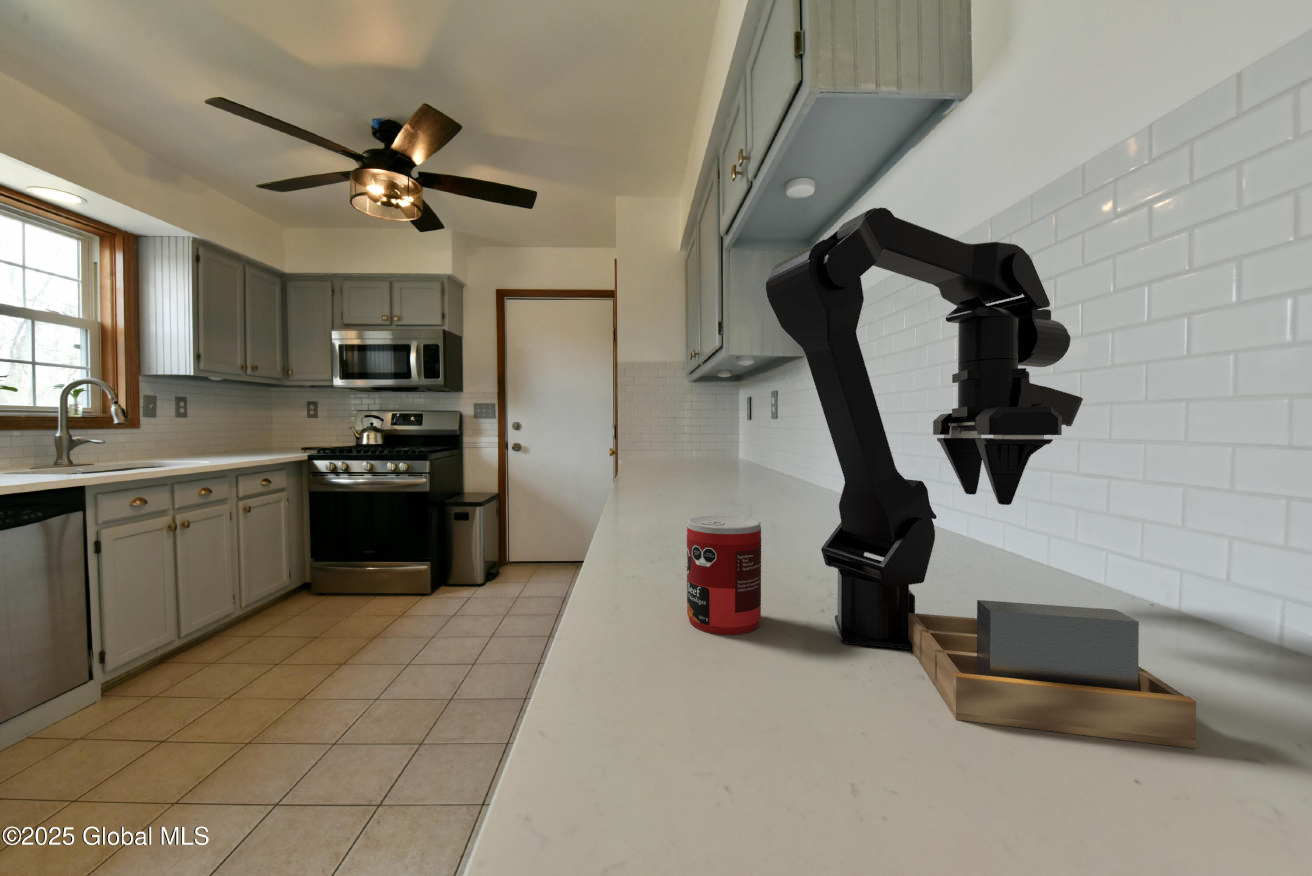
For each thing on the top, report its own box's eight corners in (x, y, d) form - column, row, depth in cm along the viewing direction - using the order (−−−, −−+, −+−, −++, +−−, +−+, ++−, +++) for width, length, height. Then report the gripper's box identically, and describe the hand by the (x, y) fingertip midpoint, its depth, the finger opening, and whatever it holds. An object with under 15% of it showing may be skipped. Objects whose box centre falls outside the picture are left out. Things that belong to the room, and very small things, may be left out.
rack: (955, 719, 35) (956, 676, 35) (907, 643, 48) (907, 611, 48) (1195, 748, 32) (1196, 701, 32) (1075, 658, 45) (1075, 624, 45)
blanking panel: (989, 706, 36) (990, 610, 36) (976, 689, 38) (977, 599, 38) (1137, 723, 34) (1138, 621, 34) (1114, 704, 36) (1115, 609, 36)
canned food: (685, 608, 58) (685, 515, 58) (754, 609, 57) (754, 515, 57) (687, 635, 50) (688, 527, 50) (767, 636, 50) (767, 527, 50)
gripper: (1128, 345, 46) (1126, 514, 46) (1027, 371, 64) (1026, 491, 64) (991, 350, 48) (990, 510, 48) (932, 373, 66) (931, 489, 66)
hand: (986, 499), depth 57 cm, fingers open, 9 cm apart
